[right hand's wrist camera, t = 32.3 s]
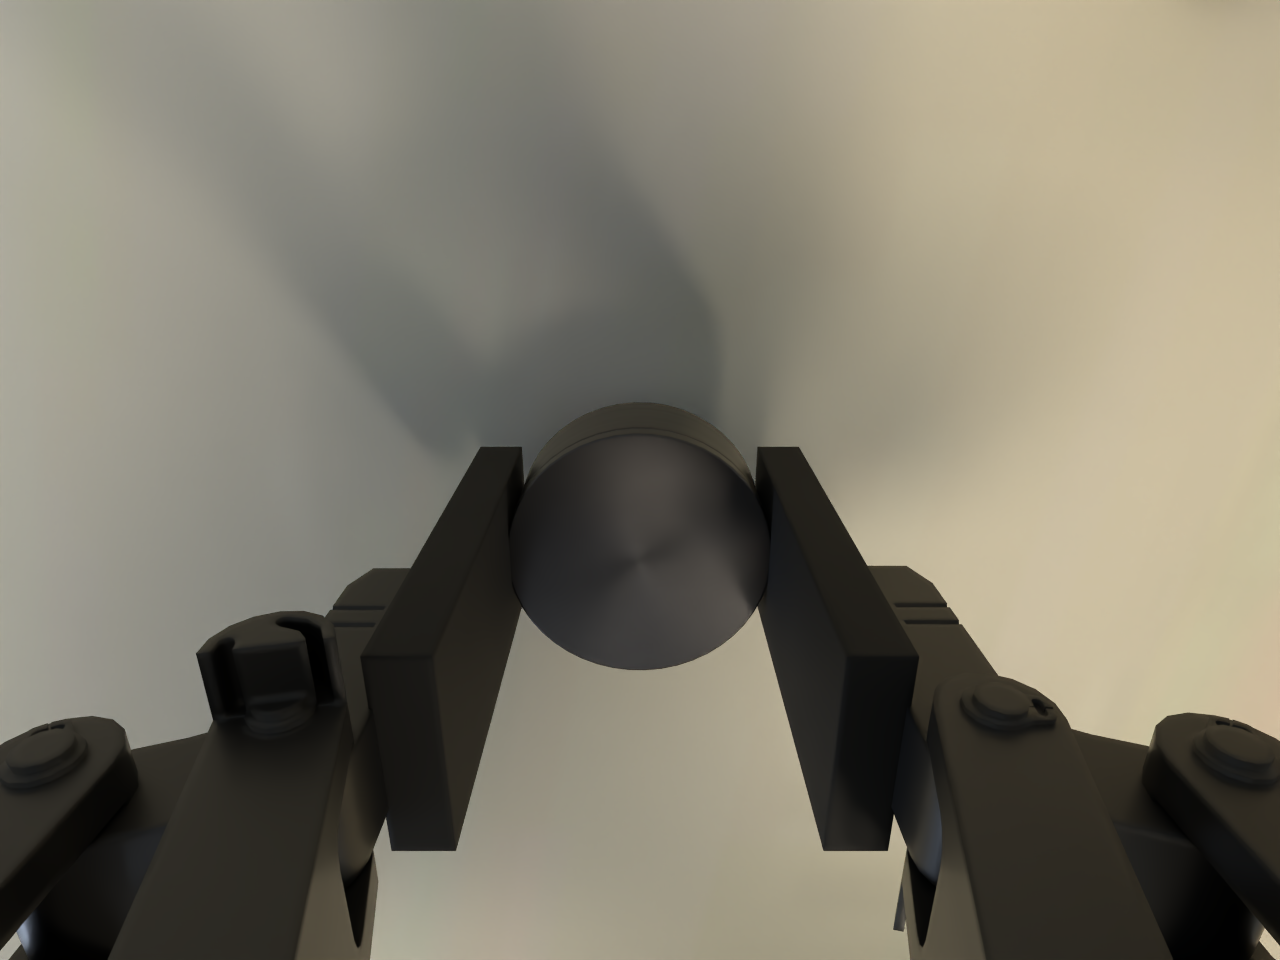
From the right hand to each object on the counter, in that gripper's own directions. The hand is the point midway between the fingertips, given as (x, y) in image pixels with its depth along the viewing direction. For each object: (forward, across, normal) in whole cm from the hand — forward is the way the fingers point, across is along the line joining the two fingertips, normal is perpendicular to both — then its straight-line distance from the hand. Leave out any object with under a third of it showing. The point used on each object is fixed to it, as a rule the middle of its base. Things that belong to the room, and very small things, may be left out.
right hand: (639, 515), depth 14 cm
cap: (-2, 0, 0) cm, 2 cm away
